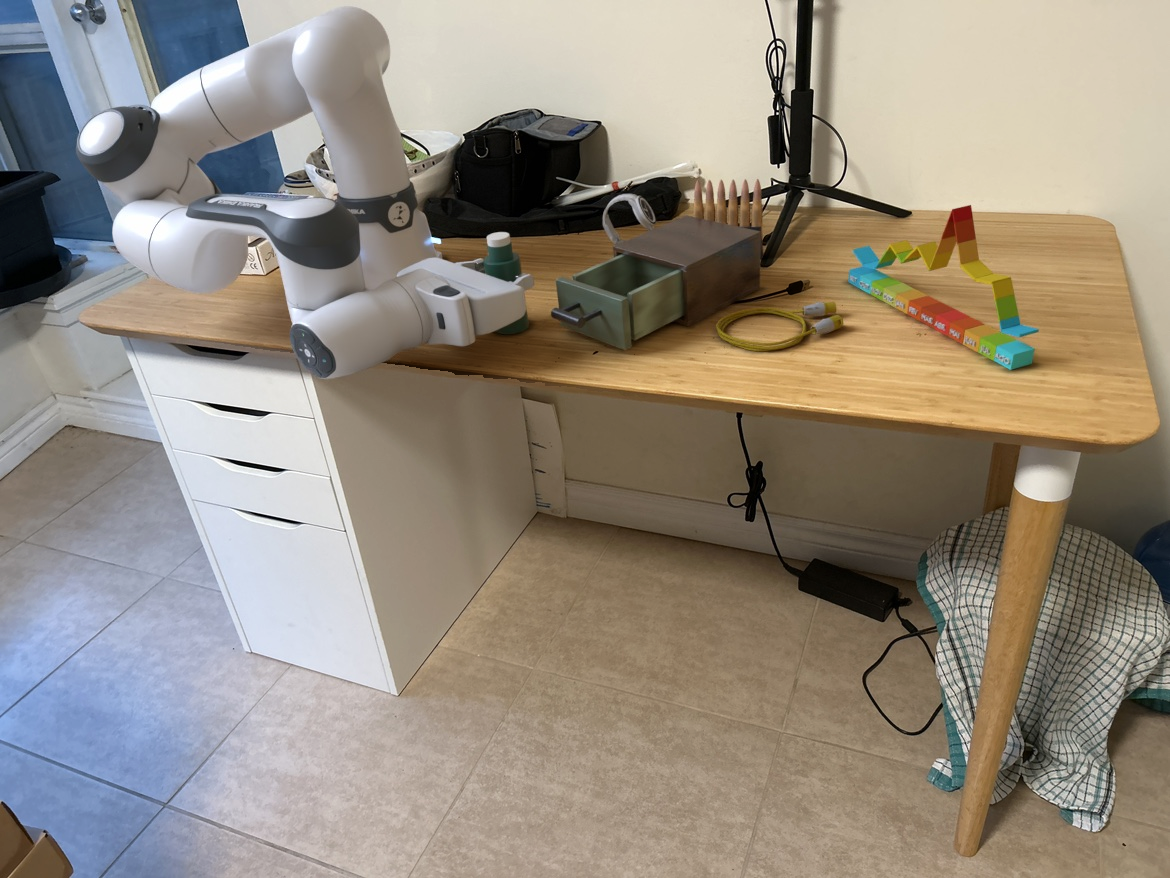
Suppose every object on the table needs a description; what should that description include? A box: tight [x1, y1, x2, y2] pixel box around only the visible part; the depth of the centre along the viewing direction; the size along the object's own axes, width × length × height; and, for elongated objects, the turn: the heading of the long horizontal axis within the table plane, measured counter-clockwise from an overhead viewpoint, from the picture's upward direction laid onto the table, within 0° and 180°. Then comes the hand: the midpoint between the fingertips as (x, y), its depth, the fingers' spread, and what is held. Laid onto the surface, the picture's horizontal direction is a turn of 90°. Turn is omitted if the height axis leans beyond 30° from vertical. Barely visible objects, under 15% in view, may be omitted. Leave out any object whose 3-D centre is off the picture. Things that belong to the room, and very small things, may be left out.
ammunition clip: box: [692, 178, 764, 260], centre depth 129 cm, size 11×2×12 cm, turn 75°
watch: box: [602, 193, 657, 246], centre depth 130 cm, size 6×8×11 cm
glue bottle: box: [483, 231, 530, 335], centre depth 114 cm, size 5×5×13 cm
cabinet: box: [612, 215, 761, 327], centre depth 118 cm, size 15×13×8 cm
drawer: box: [550, 254, 684, 351], centre depth 111 cm, size 19×12×7 cm, turn 133°
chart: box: [848, 204, 1040, 371], centre depth 104 cm, size 30×3×15 cm, turn 20°
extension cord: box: [715, 301, 845, 352], centre depth 108 cm, size 12×16×2 cm
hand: (507, 271), depth 113 cm, fingers open, 8 cm apart
